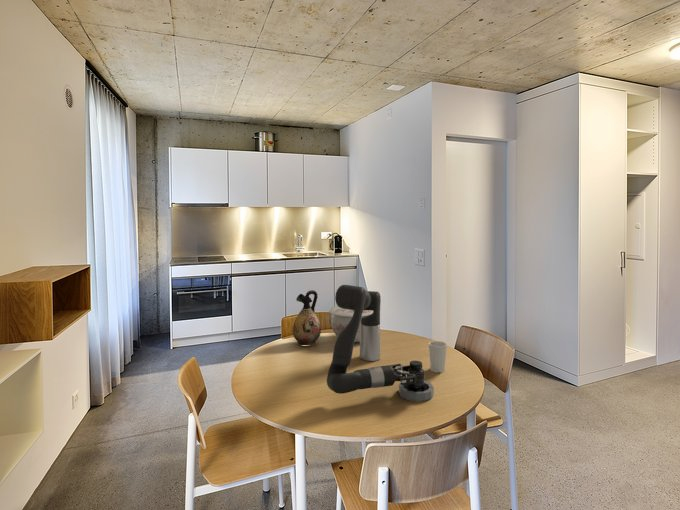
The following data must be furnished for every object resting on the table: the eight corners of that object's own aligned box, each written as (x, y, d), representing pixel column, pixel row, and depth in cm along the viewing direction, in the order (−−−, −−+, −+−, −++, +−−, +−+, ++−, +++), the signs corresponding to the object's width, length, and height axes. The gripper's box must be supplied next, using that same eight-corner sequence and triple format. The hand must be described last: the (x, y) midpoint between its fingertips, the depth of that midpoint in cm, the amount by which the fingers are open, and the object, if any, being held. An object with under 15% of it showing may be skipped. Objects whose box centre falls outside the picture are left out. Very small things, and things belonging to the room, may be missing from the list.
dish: (394, 397, 151) (394, 389, 150) (405, 384, 162) (405, 377, 162) (427, 404, 144) (427, 396, 144) (436, 390, 156) (437, 383, 156)
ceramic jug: (300, 350, 206) (299, 294, 203) (288, 343, 219) (287, 290, 216) (328, 344, 215) (327, 290, 212) (315, 337, 228) (314, 286, 225)
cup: (447, 373, 173) (447, 347, 171) (428, 372, 174) (428, 346, 173) (446, 367, 180) (446, 341, 179) (428, 366, 182) (428, 340, 181)
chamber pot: (383, 345, 213) (382, 307, 211) (333, 348, 209) (332, 310, 207) (370, 330, 241) (370, 297, 239) (326, 333, 236) (325, 299, 234)
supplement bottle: (403, 390, 155) (403, 360, 154) (418, 387, 158) (418, 358, 156) (412, 397, 149) (412, 366, 148) (428, 394, 151) (428, 364, 150)
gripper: (387, 374, 141) (427, 368, 146) (372, 360, 155) (410, 356, 159) (387, 394, 142) (427, 388, 146) (373, 379, 155) (410, 374, 160)
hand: (418, 371), depth 153 cm, fingers open, 8 cm apart
